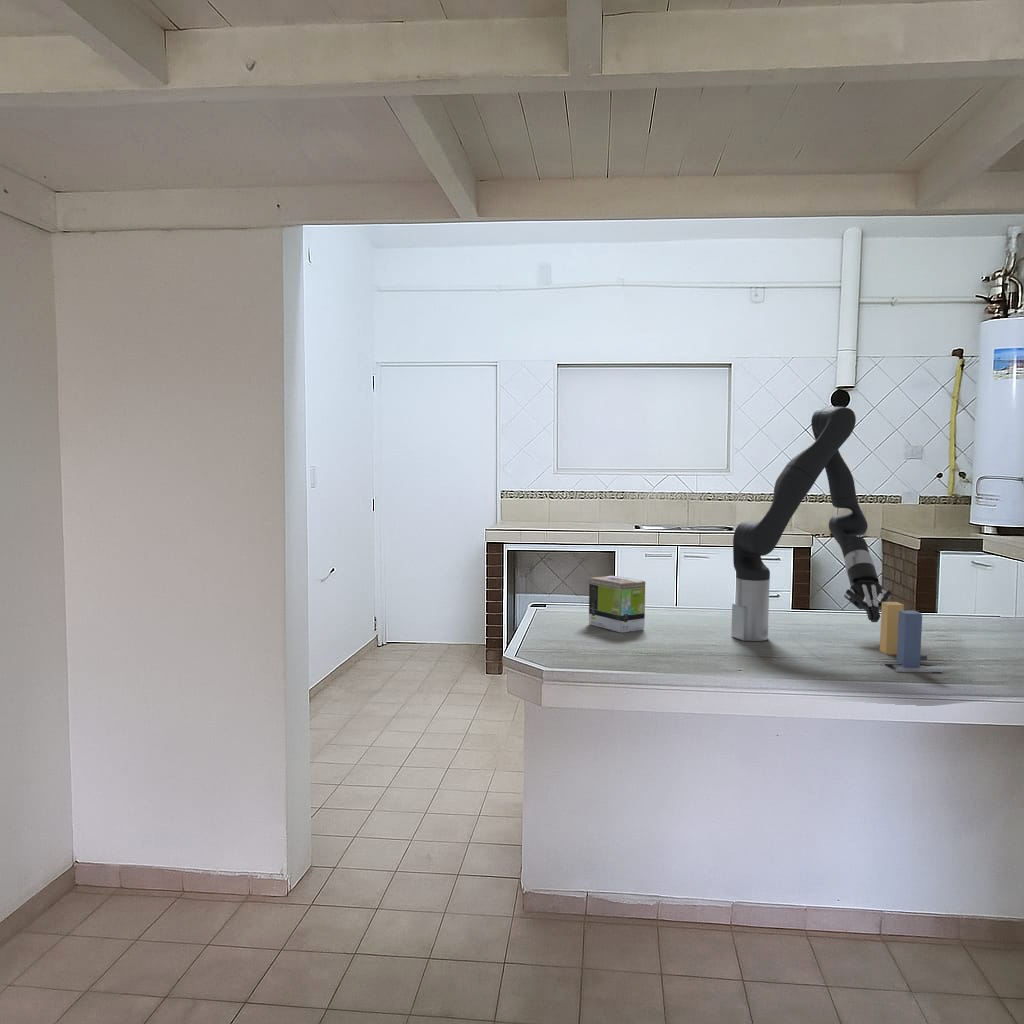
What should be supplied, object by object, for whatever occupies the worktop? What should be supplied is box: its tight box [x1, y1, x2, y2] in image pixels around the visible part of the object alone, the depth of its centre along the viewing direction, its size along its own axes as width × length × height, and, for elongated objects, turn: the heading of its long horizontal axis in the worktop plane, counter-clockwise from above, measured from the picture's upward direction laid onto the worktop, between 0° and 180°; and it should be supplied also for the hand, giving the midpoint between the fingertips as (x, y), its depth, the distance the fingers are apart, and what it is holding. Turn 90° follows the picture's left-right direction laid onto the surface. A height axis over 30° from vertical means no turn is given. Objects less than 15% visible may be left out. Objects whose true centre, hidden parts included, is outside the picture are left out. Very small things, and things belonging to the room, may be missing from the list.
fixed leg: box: [896, 610, 928, 666], centre depth 207 cm, size 4×6×13 cm, turn 88°
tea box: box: [588, 575, 646, 633], centre depth 252 cm, size 15×10×15 cm
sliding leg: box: [879, 601, 905, 656], centre depth 218 cm, size 4×6×13 cm, turn 88°
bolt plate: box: [884, 663, 943, 673], centre depth 217 cm, size 26×11×1 cm, turn 178°
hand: (875, 620), depth 228 cm, fingers closed
